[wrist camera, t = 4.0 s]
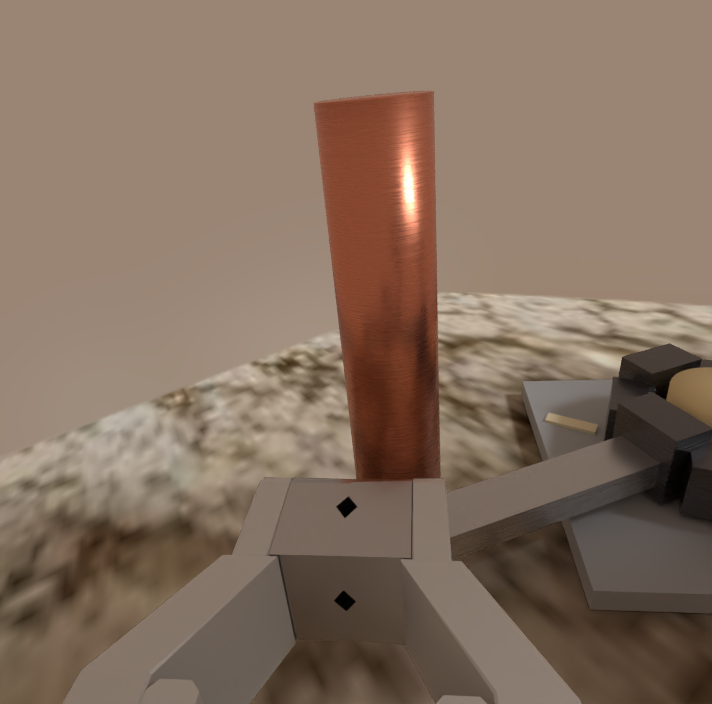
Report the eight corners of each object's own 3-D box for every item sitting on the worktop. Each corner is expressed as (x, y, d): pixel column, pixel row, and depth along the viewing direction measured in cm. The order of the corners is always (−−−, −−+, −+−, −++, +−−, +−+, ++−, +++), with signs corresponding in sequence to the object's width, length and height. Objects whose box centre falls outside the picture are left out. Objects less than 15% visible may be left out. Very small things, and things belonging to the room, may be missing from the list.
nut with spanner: (701, 384, 28) (789, 45, 21) (899, 488, 21) (1144, 17, 13) (334, 498, 23) (277, 101, 16) (420, 693, 15) (389, 107, 8)
